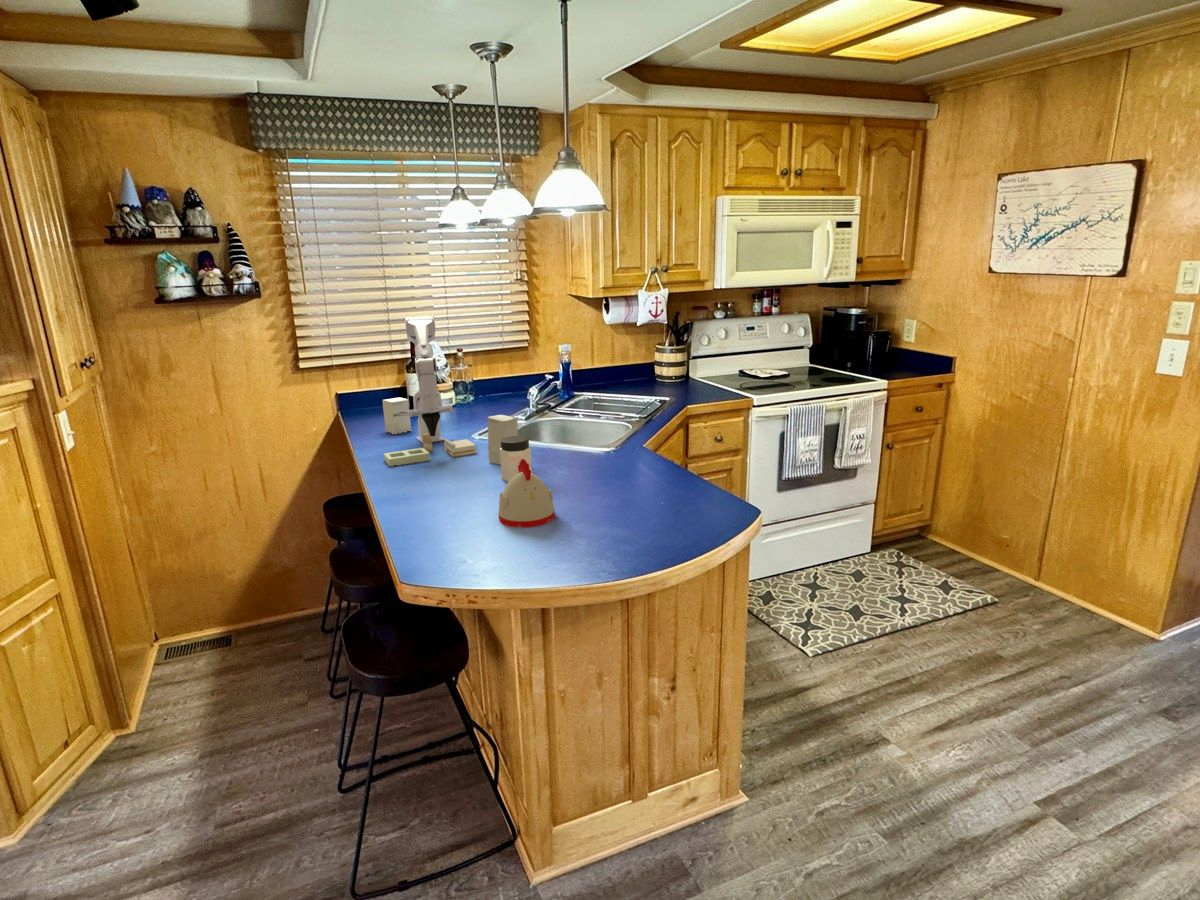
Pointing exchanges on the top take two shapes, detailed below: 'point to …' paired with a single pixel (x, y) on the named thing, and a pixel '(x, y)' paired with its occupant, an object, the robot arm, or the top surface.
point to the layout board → (460, 452)
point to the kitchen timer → (525, 500)
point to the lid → (459, 445)
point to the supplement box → (396, 415)
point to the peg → (427, 442)
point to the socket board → (406, 456)
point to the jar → (514, 455)
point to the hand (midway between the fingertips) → (432, 435)
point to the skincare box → (499, 434)
